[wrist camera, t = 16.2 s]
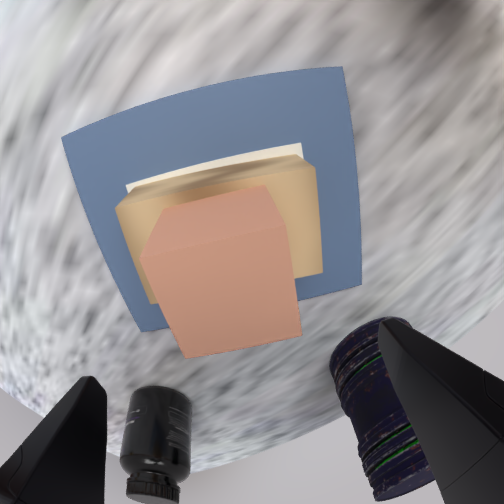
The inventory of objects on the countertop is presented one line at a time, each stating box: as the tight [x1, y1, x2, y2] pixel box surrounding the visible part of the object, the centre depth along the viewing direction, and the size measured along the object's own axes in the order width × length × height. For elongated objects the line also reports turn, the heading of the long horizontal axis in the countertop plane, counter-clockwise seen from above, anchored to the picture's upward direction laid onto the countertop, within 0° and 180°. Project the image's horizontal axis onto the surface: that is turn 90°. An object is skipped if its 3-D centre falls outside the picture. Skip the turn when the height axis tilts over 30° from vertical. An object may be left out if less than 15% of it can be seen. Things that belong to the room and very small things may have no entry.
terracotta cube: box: [139, 185, 302, 359], centre depth 13 cm, size 5×5×5 cm
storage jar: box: [329, 317, 435, 502], centre depth 21 cm, size 10×10×15 cm
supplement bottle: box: [120, 386, 192, 504], centre depth 23 cm, size 7×7×12 cm
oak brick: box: [115, 154, 323, 304], centre depth 17 cm, size 10×6×4 cm, turn 100°
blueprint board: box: [61, 67, 362, 332], centre depth 19 cm, size 18×16×1 cm
